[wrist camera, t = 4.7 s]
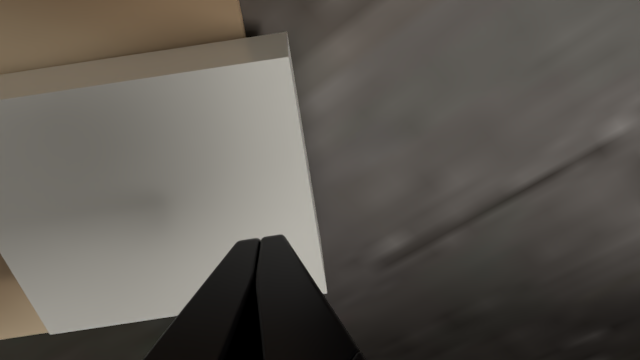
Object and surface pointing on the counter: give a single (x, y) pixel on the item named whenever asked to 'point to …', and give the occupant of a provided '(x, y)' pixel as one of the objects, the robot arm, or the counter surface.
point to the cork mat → (88, 45)
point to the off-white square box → (149, 177)
